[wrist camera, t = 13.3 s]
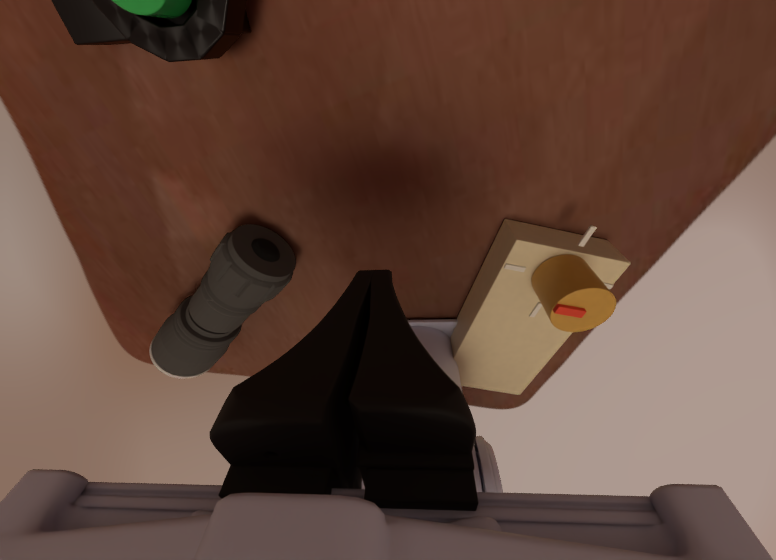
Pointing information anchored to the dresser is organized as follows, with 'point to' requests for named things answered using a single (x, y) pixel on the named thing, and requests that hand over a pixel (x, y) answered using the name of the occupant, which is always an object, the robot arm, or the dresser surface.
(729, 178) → the dresser surface
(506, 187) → the dresser surface
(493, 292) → the dial box
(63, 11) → the box
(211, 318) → the flashlight
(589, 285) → the lock knob
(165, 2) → the release button
